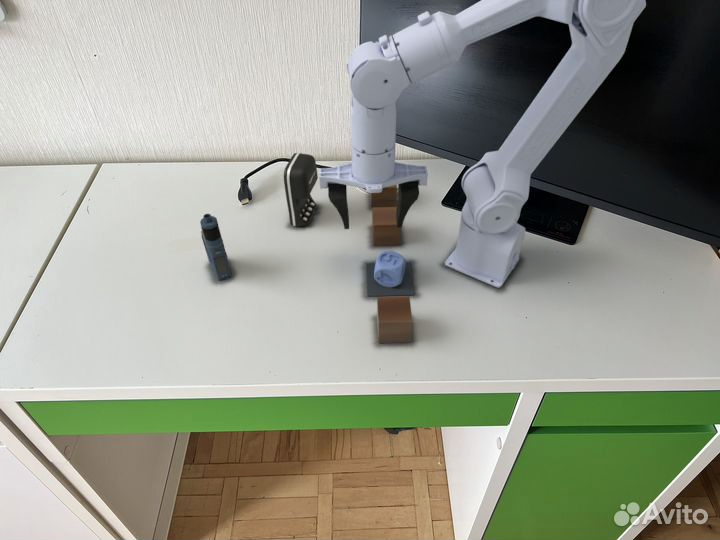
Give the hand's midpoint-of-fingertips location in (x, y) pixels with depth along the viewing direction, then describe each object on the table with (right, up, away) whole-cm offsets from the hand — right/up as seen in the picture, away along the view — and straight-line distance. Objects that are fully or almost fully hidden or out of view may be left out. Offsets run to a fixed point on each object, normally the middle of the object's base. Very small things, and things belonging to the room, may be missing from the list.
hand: (372, 224), depth 78 cm
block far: (+2, +6, +18) cm, 20 cm away
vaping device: (-24, -7, +6) cm, 26 cm away
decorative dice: (+3, -8, +4) cm, 10 cm away
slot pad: (+3, -8, +4) cm, 10 cm away
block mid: (+2, -1, +11) cm, 12 cm away
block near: (+3, -15, -3) cm, 16 cm away
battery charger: (-11, +3, +16) cm, 20 cm away
